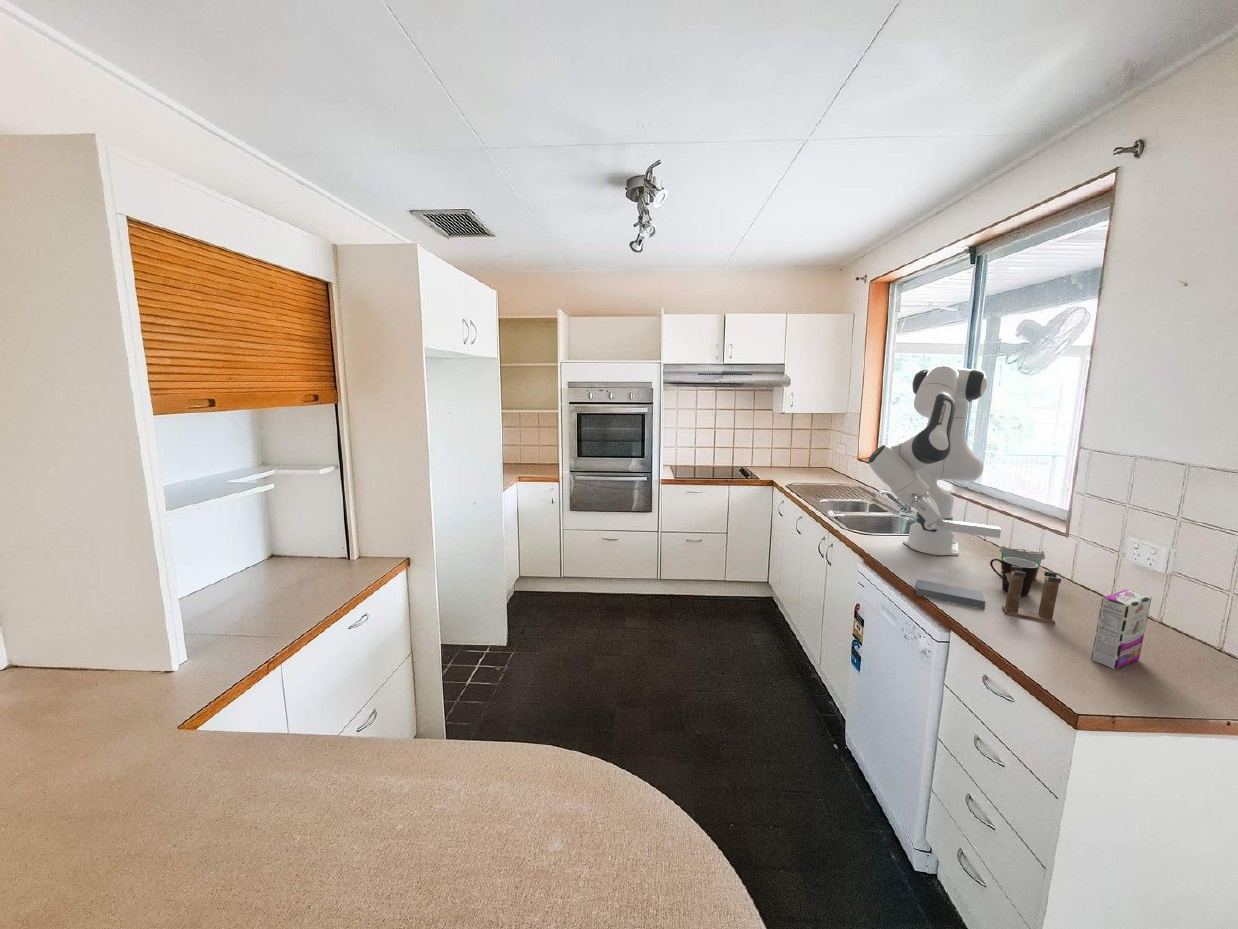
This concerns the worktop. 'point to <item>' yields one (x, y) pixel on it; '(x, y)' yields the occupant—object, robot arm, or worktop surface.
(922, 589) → the board
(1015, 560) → the coffee mug
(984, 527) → the rail
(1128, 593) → the candy bar box
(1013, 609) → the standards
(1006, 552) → the food container
